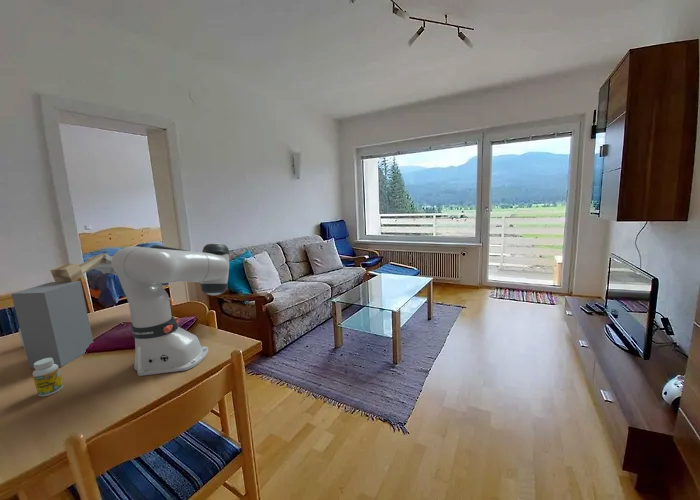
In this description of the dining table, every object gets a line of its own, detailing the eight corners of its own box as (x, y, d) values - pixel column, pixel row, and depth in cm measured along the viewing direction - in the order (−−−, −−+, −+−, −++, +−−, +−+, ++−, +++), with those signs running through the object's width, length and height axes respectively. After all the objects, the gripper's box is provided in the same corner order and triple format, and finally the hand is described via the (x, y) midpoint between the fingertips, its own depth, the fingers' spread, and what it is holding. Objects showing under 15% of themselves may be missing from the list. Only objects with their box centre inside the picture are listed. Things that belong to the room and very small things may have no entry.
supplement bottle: (65, 383, 93) (58, 354, 91) (61, 392, 89) (54, 362, 87) (40, 390, 90) (33, 360, 89) (35, 399, 86) (27, 368, 84)
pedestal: (94, 347, 115) (80, 281, 111) (61, 366, 103) (44, 292, 98) (66, 348, 116) (51, 282, 111) (29, 367, 103) (11, 293, 98)
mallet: (113, 258, 129) (109, 247, 127) (71, 281, 110) (66, 269, 108) (99, 259, 129) (95, 248, 127) (55, 282, 110) (49, 269, 108)
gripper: (145, 272, 137) (122, 263, 124) (101, 273, 138) (73, 265, 125) (148, 258, 139) (125, 248, 126) (104, 260, 140) (77, 250, 127)
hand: (99, 257), depth 126 cm, fingers closed on mallet, 3 cm apart
